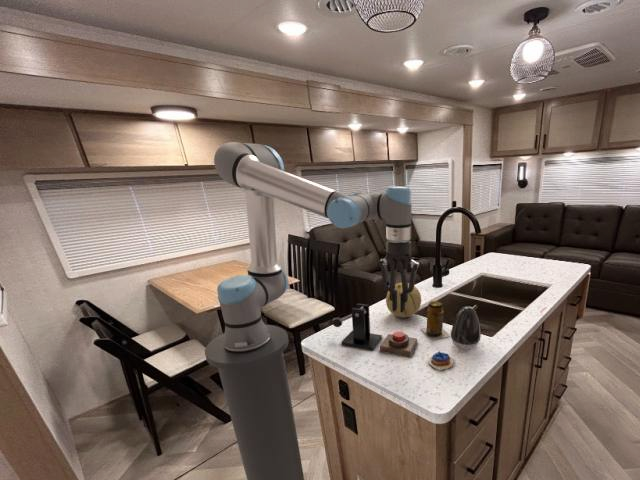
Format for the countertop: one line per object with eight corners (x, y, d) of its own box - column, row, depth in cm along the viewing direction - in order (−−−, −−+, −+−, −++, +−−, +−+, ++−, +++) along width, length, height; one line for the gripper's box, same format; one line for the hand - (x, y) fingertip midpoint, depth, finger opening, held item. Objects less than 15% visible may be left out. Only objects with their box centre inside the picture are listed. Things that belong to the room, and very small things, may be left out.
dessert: (435, 370, 98) (432, 351, 100) (427, 371, 104) (424, 353, 106) (458, 367, 101) (455, 348, 102) (449, 368, 107) (446, 350, 108)
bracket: (341, 345, 114) (338, 309, 109) (352, 333, 122) (350, 300, 116) (372, 350, 111) (371, 314, 105) (381, 338, 118) (381, 304, 113)
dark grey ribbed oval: (485, 346, 113) (490, 306, 107) (468, 357, 107) (472, 316, 101) (461, 335, 120) (464, 298, 114) (444, 345, 113) (446, 306, 107)
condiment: (438, 326, 127) (440, 299, 122) (448, 336, 119) (450, 307, 115) (421, 329, 124) (422, 301, 120) (431, 340, 117) (432, 310, 112)
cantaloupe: (425, 311, 140) (426, 279, 134) (414, 325, 127) (415, 290, 122) (394, 306, 145) (393, 275, 139) (380, 319, 132) (379, 285, 127)
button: (391, 340, 110) (391, 335, 109) (395, 334, 113) (395, 330, 113) (402, 342, 109) (402, 337, 108) (406, 336, 112) (406, 332, 111)
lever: (334, 330, 116) (328, 321, 115) (338, 325, 119) (333, 317, 118) (364, 316, 110) (358, 307, 109) (368, 312, 113) (363, 303, 112)
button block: (379, 351, 110) (379, 341, 108) (388, 339, 118) (388, 329, 116) (410, 356, 107) (410, 346, 105) (417, 343, 115) (417, 333, 113)
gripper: (371, 241, 96) (373, 311, 106) (419, 244, 92) (417, 317, 101) (379, 236, 103) (381, 303, 112) (425, 239, 99) (423, 308, 108)
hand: (398, 310), depth 107 cm, fingers open, 2 cm apart
